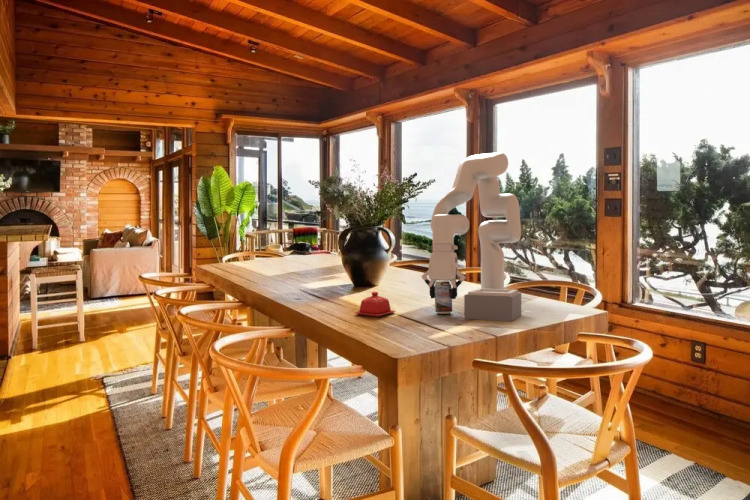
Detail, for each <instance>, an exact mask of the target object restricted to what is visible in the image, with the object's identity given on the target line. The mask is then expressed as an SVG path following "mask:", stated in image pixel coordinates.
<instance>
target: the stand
mask: <svg viewBox="0 0 750 500" xmlns="http://www.w3.org/2000/svg"><path fill="white" fill-rule="evenodd" d="M463 297H464V299H463V300H464V304H463V305H464V307H463V308H464V312H463V313H464V319H465V320H485V321H498V322H499V321H501V322H502V321H503V322H513V321H515V320H516V319H518V318H519V317H521V316H522V292H521V291H519V290H518V289H505V288H504V289H481V288H476V289H472V290H469V291H468V292H467V293H466V294H464V296H463Z"/></svg>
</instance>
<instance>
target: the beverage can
mask: <svg viewBox="0 0 750 500" xmlns="http://www.w3.org/2000/svg"><path fill="white" fill-rule="evenodd" d="M434 287H435V298H434V308H435V309H434V312H435V313H437V314H438V315H440V314H441V315H442V314H446V315H448V314H451V313H453V299H452V291H451V289H452V284H451V282H450V281H439V280H437V281H436V283H435V284H434Z"/></svg>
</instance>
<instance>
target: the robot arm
mask: <svg viewBox="0 0 750 500" xmlns="http://www.w3.org/2000/svg"><path fill="white" fill-rule="evenodd" d="M508 166H509V160H508V156H507V155H506V154H505V153H504V152H502V151H501V152H499V151H498V152H487V153H480V154H479V153H478V154H473V155H469V156H467V158H464V159H463V160H461V162H460V163H459V166H458V169H457V171H456V175H455V178H454V181H453V185H452V188H451V190H449V191H448V193H446V194H445V195H444V196H443V197H442V198H440V200H439V201H438V202H437V204H436V205H435V207H434V210H433V213H432V215H431V220H430V229H431V232H432V252H431V253H430V257H429V263H428V270H426V272H424V273H423V274H422V275H421V278H422V280H423V281H424V282H425V284H426V285H428V288H429V296H430V299H435V284H436V282H438V281H449V282H450V284H451V291H452V300H455V299H457V297H458V288H459V286H460V285H462V283H463V282H464V280H465V279H466V278H467V277H466V275H464V273H462V272H461V271H459V261H458V255H457V252H455V250H458V249H459V248H458V245H455V243H454V240H455V239H454V238H455V237H454V236H461V235H465V234H467V232H469V229H470V226H471V225H470V220H469V219H468V217H467V216H465V215H464V214H448V213H449V212H450V211H451V210H453V209H455V208H457V207H458V206H461V205H462V204H465V203H466V202H469V201H470V200H472V199H473V197H474V195H475V192H476V188H477V187H478V198H479V199H478V200H479V209H480V214H481V215H482V216H483V217H485V218H505V219H498V220H497V219H496V220H495V219H493V220H485V221H483V222H481V223H480V224H479V226H478V228H477V229H478V238H479V244H480V289H505V254H504V251H503V249H502V247H501V246H500V244H514V243H517V242H519V241H520V239H521V236H522V227H521V213H520V211H521V210H520V203H519V200H518V197H517V196H516V195H515V194H513V193H501V191H500V182H499V179H498V178H497V177H498V176H500V175H503V174H505V172H506V171H507V169H508ZM457 280H458V281H457Z"/></svg>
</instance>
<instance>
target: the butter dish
mask: <svg viewBox="0 0 750 500" xmlns="http://www.w3.org/2000/svg"><path fill="white" fill-rule="evenodd" d="M393 313H396V310H392V309H391V305H390V301H389V299H388V298H386V297H385V296H379V292H378V291H372V292H371V296H368V297H365V298H364V299H362V300H361V302H360V306H359V310H358V311H354V314H357V315H361V316H365V317H373V318H374V317H375V318H379V317H382V316H383V317H384V316H386V315H389V314H393Z"/></svg>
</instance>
